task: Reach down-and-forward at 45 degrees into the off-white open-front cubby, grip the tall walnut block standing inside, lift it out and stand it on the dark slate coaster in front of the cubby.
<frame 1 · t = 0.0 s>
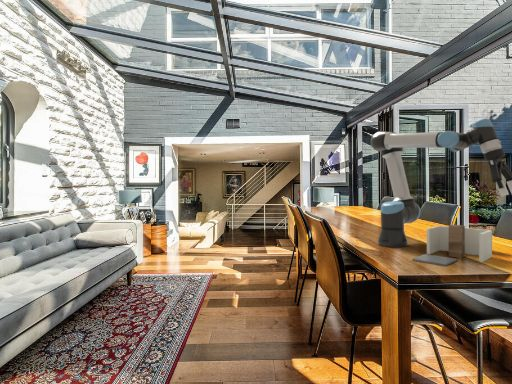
hand: (510, 194, 143), 28 cm above the table, tool tilted 20°, fingers open, 13 cm apart
coffee mug: (480, 250, 159), on the table
coaster: (434, 260, 140), on the table
cubby: (458, 255, 148), on the table
walnut block: (456, 256, 147), on the table
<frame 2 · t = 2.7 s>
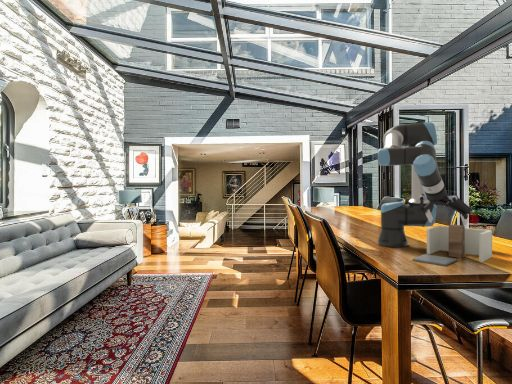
hand: (447, 221, 140), 17 cm above the table, tool tilted 45°, fingers open, 13 cm apart
nothing on the table moved.
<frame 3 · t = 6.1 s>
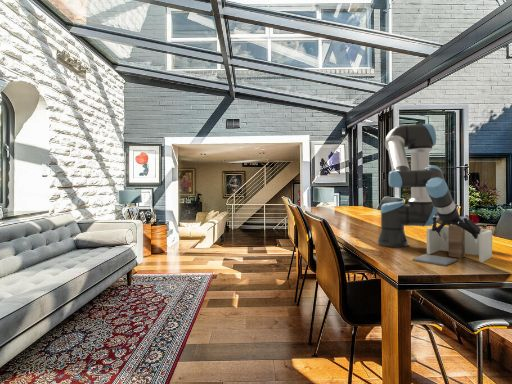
hand: (460, 241, 147), 7 cm above the table, tool tilted 45°, fingers open, 12 cm apart
nothing on the table moved.
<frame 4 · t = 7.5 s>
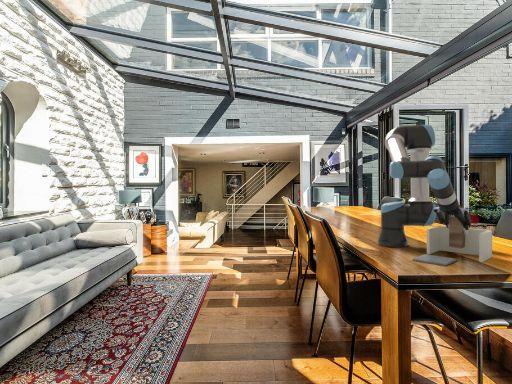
hand: (459, 232, 149), 11 cm above the table, tool tilted 45°, fingers closed on walnut block, 5 cm apart
walnut block: (457, 246, 147), point 4 cm above the table, touching gripper
everything else where it was.
when the fingers open (7 cm above the table, at t = 12.2 s): walnut block stays where it is, resting on coaster.
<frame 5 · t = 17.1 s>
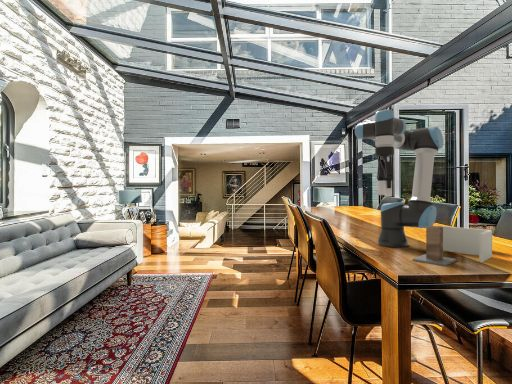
hand: (384, 195, 140), 29 cm above the table, tool pointing down, fingers open, 13 cm apart
walnut block: (434, 258, 140), point 1 cm above the table, touching coaster
everything else where it was.
at the end: walnut block inside the target area on the coaster (0.5 cm from its centre), point 0.8 cm above the coaster's base; walnut block tilted 0°; the gripper is holding nothing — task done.
